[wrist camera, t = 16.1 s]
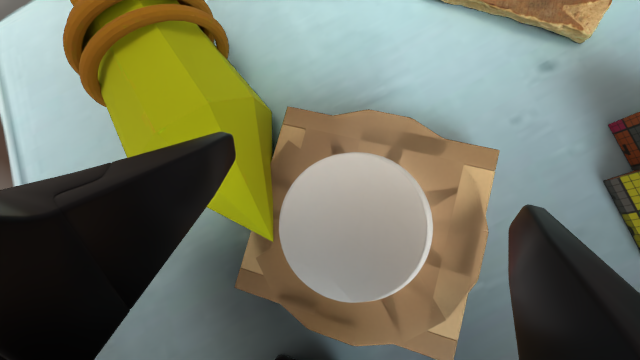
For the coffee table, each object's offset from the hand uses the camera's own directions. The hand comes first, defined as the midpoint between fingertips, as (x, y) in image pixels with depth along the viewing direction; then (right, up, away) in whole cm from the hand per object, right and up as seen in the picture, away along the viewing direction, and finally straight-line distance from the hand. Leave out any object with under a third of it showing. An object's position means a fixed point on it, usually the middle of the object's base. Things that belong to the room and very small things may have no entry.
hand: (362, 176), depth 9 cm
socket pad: (+2, -3, +11) cm, 11 cm away
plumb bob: (-10, +6, +14) cm, 18 cm away
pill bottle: (+2, -3, +11) cm, 12 cm away
